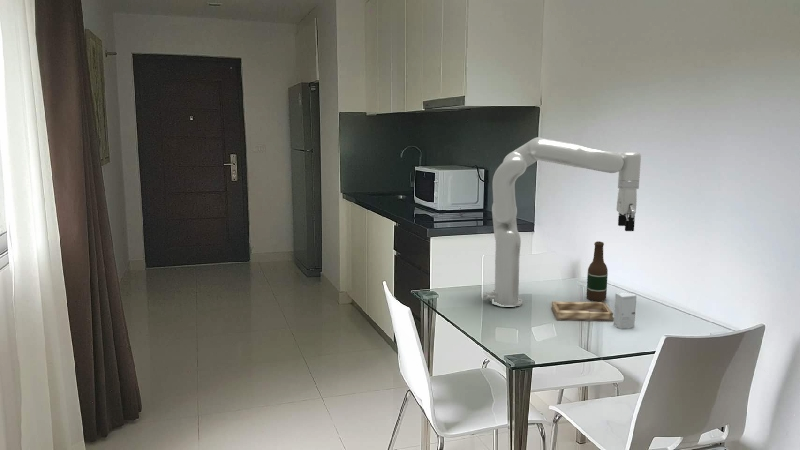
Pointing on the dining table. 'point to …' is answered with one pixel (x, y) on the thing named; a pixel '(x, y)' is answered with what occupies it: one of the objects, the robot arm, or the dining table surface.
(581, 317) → the wooden tray
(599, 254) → the beer bottle
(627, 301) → the skincare box
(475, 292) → the dining table surface
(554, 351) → the dining table surface
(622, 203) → the robot arm
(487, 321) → the dining table surface
